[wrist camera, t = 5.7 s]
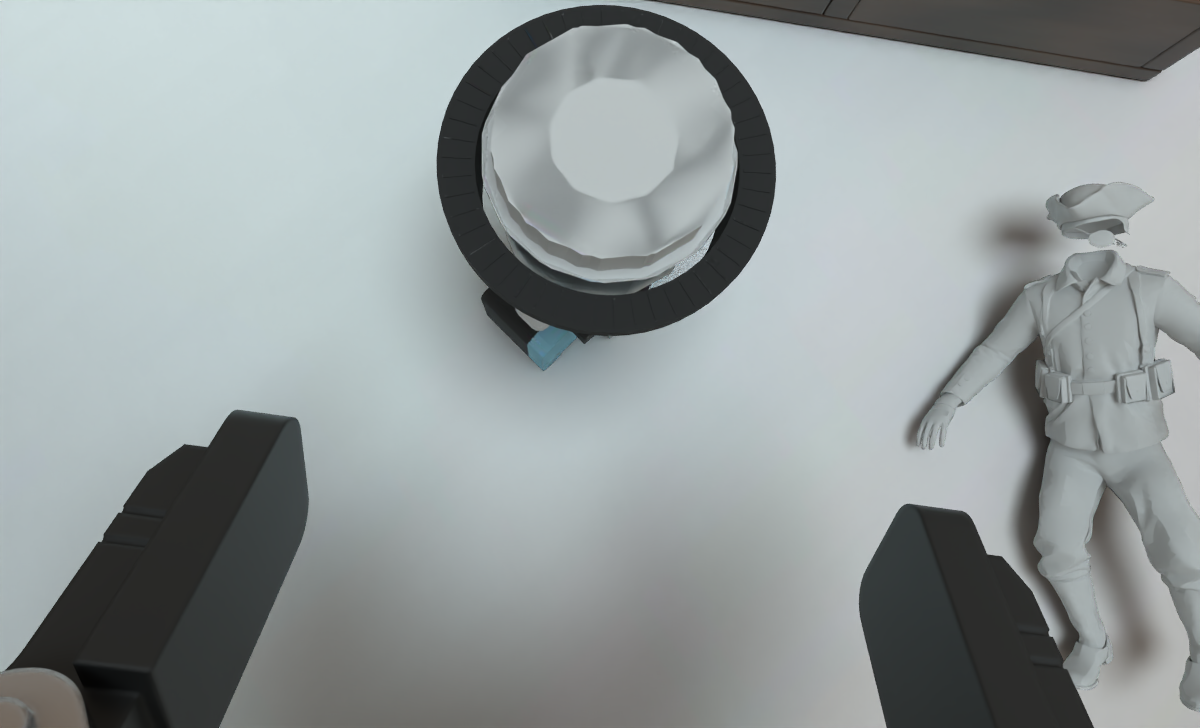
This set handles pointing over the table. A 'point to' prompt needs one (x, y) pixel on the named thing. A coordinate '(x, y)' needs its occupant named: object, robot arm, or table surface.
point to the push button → (603, 174)
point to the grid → (1010, 27)
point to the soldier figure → (1099, 415)
